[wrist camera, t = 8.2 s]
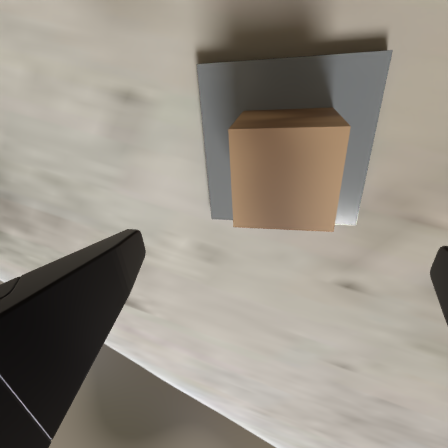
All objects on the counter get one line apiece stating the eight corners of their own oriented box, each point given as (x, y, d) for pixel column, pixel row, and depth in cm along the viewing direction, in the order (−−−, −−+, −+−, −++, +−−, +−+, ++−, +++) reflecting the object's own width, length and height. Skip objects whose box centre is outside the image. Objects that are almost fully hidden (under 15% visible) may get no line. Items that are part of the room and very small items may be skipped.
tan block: (333, 107, 15) (350, 126, 11) (322, 190, 18) (333, 231, 14) (243, 110, 16) (228, 129, 12) (245, 189, 19) (233, 227, 15)
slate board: (387, 50, 14) (392, 50, 13) (353, 219, 19) (355, 225, 19) (200, 64, 16) (196, 64, 15) (214, 213, 21) (211, 219, 20)
